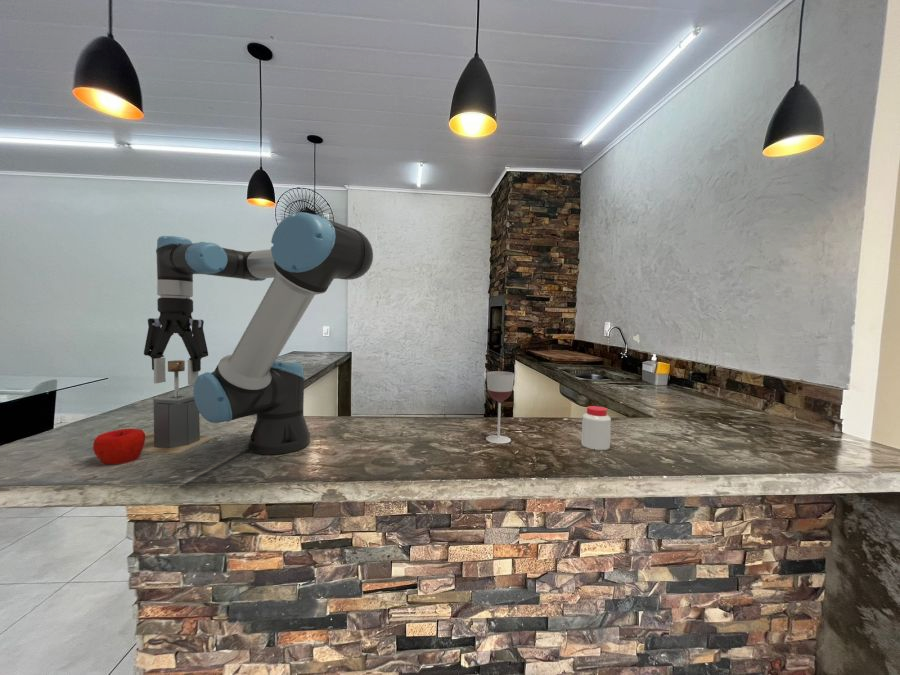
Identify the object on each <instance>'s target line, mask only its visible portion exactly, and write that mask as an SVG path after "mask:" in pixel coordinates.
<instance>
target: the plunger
mask: <svg viewBox="0 0 900 675" xmlns="http://www.w3.org/2000/svg"><path fill="white" fill-rule="evenodd" d="M185 363H186V362H185V360H184V359H183V360H180V359H178V360H177V359H176V360H168V361H167V372H169V373H173V374H174V376H173V378H174V382H173V383H174V384H173V385H174V394H175V398H179V394H180V393H179V392H180V391H179V390H180V389H179V388H180V387H179V385H180V383H179V380H180V379H179V378H180V377H179V375H180V374H179V373H180V372H184V371H186V369H185V368H186V364H185Z"/></svg>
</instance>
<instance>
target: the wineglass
mask: <svg viewBox="0 0 900 675" xmlns="http://www.w3.org/2000/svg"><path fill="white" fill-rule="evenodd" d="M514 381H515V373H514V372H510V371H503V370H502V371H500V370H499V371H497V370H495V371H494V370H493V371H487V372H486V385H487V388H486V389H487V392H488V395H489V396H490V398H491V399H492V400H494V401H496V402H497V407H498V408H497V433H496V434H497V435H496V434H494V435H489V436H487V437H485V440H486V441H487V442H490V443H493V444H508V443H511V442H512V440H511V439H512V438H510V437H508V436H505V435H501V410H502V409H501V408H502V403H503V402H504V401H506V400H507V399H509V398H510V397H511V396H512V392H513V389H514Z"/></svg>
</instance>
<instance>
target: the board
mask: <svg viewBox="0 0 900 675" xmlns="http://www.w3.org/2000/svg"><path fill="white" fill-rule="evenodd" d="M144 433H145V442H144V446H143V449H142V452H151V453H168V454H181V453H183V452H185V451H188V450H190V449H193V448H195V447H197V446H198V445H200V444H203V443H205V442H208V441H210V440H213V439H215V438H216V436H210V435H200V440H199V441H197V442H194V443H192V444H190V445H186V446H180V447H174V448H156V447H154V432H144Z"/></svg>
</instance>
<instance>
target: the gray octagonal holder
mask: <svg viewBox="0 0 900 675" xmlns="http://www.w3.org/2000/svg"><path fill="white" fill-rule="evenodd" d="M152 401H153V405H152V407H153V408H152V410H153V433H154V447H156V448H174V447H180V446H186V445H190V444H192V443H194V442H197V441H199V440H200V436H201V434H200V430H201V429H200V426H201V425H200V423H201V422H200V412H199V411H198V409H197V406H196V404H195V399H194V394H182V393H179V398H175V393H173V394H170V395H166V396H162V397H157V398H153V400H152Z"/></svg>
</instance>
